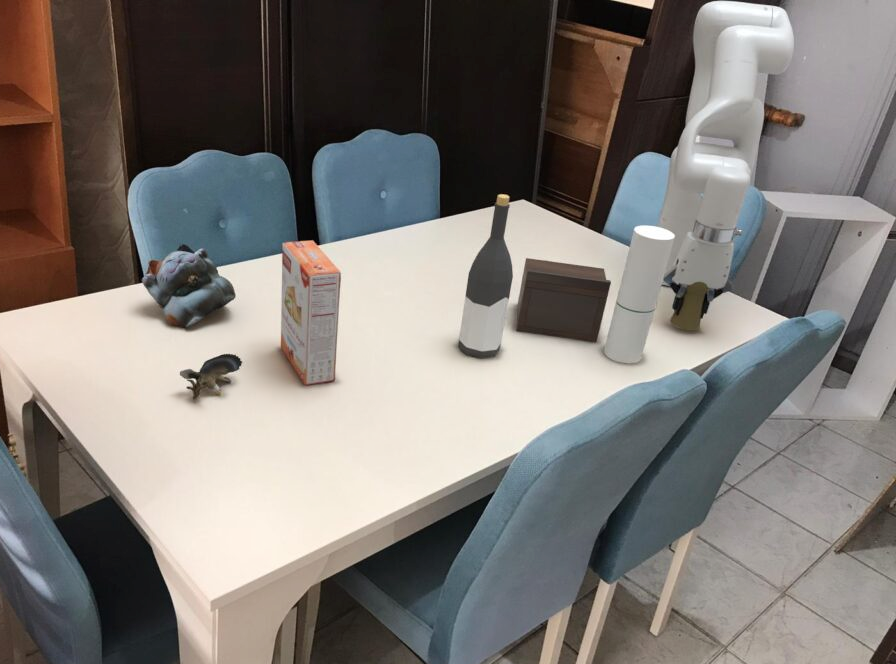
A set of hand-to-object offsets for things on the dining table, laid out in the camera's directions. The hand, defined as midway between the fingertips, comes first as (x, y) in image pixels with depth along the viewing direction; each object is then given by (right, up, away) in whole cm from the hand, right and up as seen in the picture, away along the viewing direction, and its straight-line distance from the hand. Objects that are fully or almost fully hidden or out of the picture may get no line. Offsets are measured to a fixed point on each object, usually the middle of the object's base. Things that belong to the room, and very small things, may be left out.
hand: (688, 313), depth 175 cm
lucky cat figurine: (-101, -1, -12) cm, 101 cm away
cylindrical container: (-17, -9, -11) cm, 22 cm away
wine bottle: (-45, -8, -14) cm, 48 cm away
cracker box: (-77, -12, -25) cm, 82 cm away
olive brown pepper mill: (0, -2, +1) cm, 2 cm away
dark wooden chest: (-28, -2, -2) cm, 28 cm away
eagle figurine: (-92, -16, -35) cm, 100 cm away
